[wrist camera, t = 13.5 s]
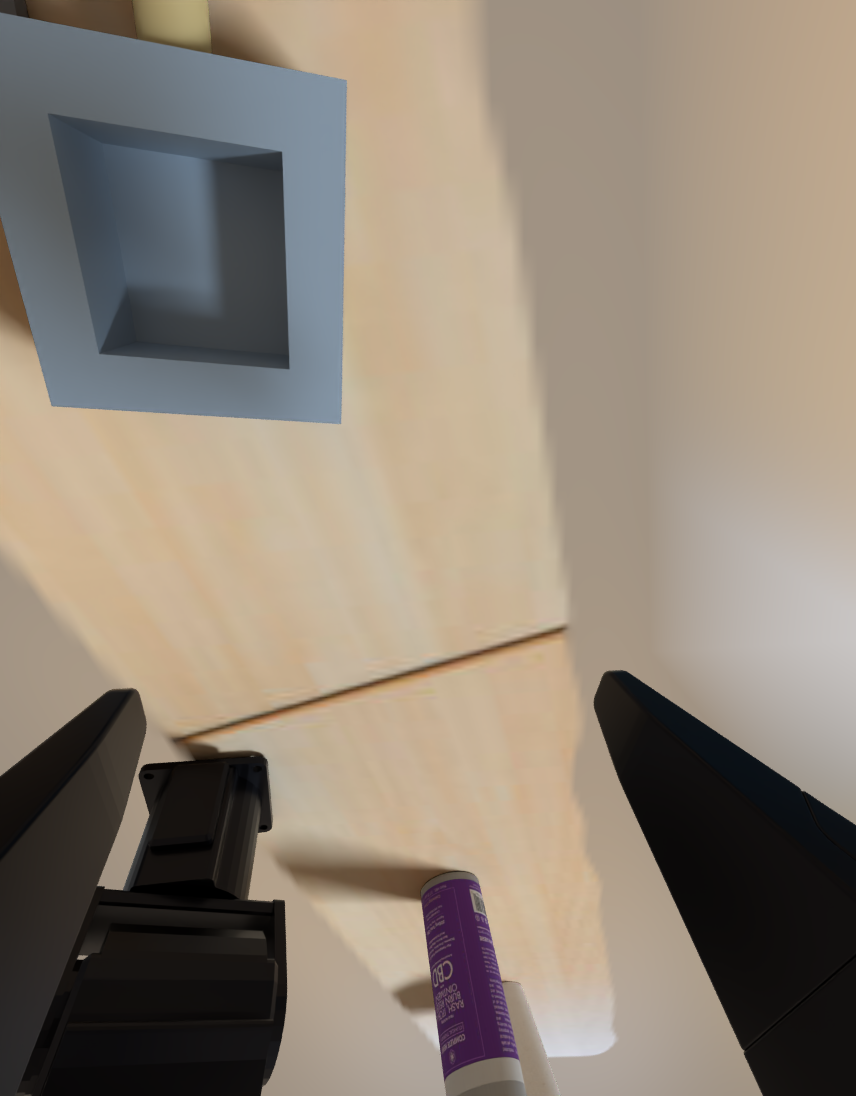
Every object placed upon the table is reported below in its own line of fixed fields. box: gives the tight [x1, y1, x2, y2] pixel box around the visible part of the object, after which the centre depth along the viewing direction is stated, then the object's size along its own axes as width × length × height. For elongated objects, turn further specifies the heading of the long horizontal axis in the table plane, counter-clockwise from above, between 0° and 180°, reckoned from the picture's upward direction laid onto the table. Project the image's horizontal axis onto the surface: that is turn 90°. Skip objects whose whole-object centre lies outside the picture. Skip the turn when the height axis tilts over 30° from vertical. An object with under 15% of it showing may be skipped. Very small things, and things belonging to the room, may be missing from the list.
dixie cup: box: [502, 982, 561, 1096], centre depth 46 cm, size 8×8×10 cm
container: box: [421, 872, 527, 1096], centre depth 31 cm, size 5×5×15 cm
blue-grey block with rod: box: [0, 0, 347, 424], centre depth 12 cm, size 16×8×4 cm, turn 174°
